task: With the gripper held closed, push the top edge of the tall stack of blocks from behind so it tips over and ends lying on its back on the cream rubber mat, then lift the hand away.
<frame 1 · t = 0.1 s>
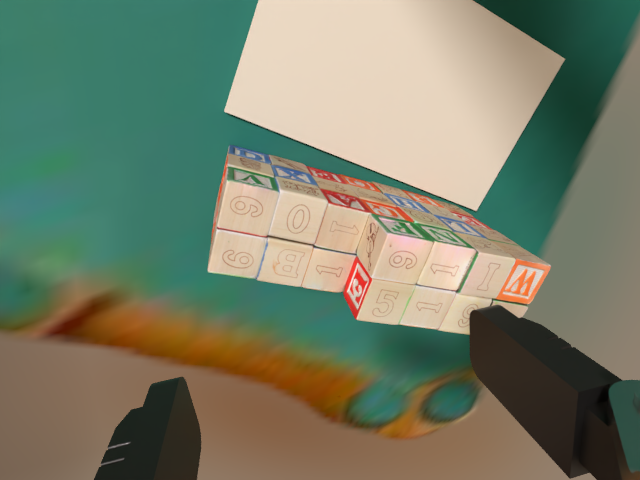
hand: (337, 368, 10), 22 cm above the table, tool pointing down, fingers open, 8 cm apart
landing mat: (402, 83, 30), on the table
stack of blocks: (342, 209, 34), on the table
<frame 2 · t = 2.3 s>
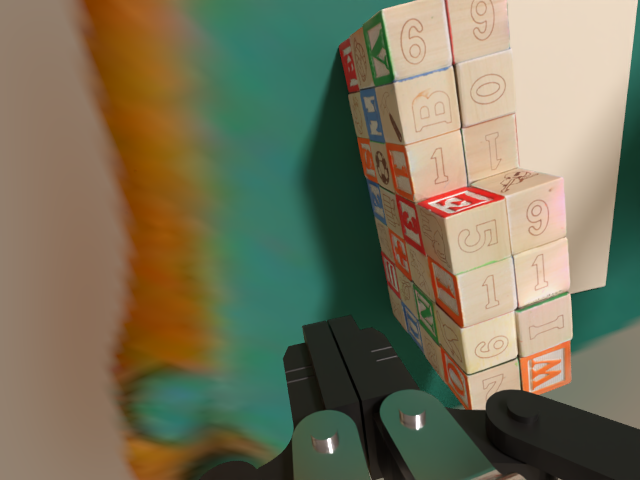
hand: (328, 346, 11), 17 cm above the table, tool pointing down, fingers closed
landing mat: (539, 167, 31), on the table
stack of blocks: (404, 185, 29), on the table
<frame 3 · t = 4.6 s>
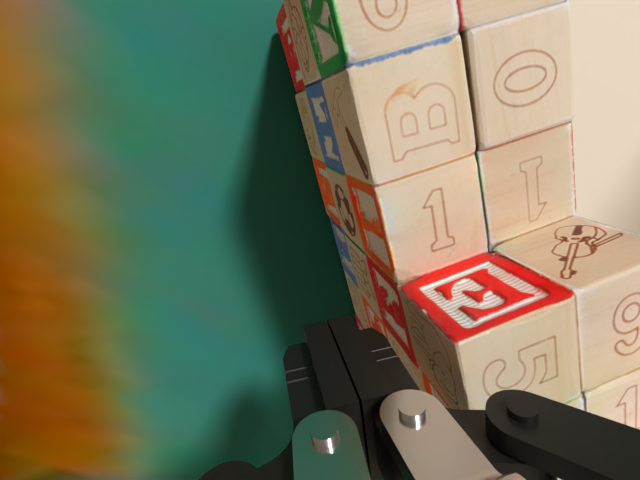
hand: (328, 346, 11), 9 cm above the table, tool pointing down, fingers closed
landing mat: (573, 198, 22), on the table
stack of blocks: (385, 222, 21), on the table, touching gripper
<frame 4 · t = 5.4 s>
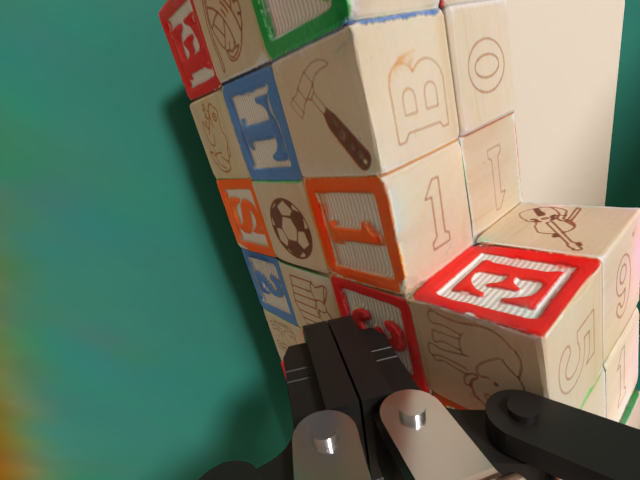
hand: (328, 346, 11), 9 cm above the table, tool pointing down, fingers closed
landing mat: (490, 216, 21), on the table
stack of blocks: (299, 249, 19), point 1 cm above the table, touching gripper, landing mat
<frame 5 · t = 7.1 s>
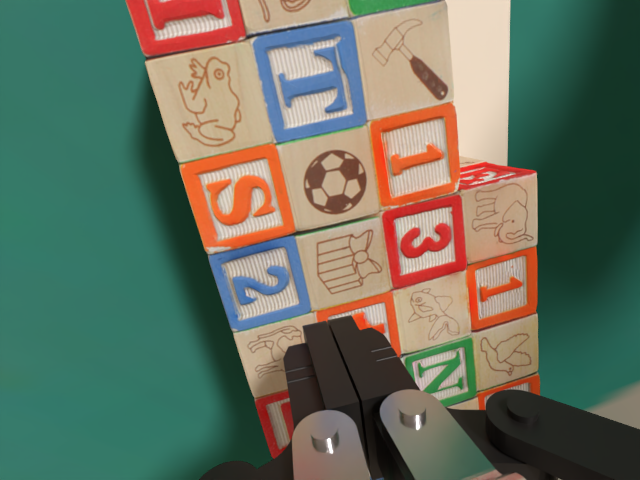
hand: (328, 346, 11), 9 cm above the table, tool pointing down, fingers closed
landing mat: (384, 233, 21), on the table
stack of blocks: (217, 267, 16), point 4 cm above the table, touching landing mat
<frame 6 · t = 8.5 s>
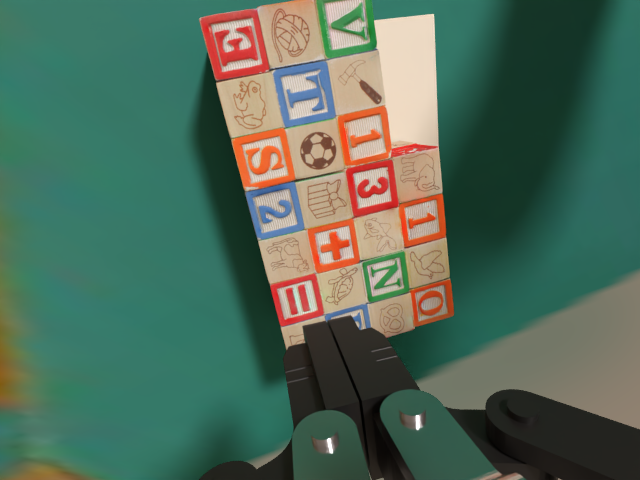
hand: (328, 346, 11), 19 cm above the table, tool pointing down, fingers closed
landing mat: (355, 195, 30), on the table
stack of blocks: (245, 208, 25), point 4 cm above the table, touching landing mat
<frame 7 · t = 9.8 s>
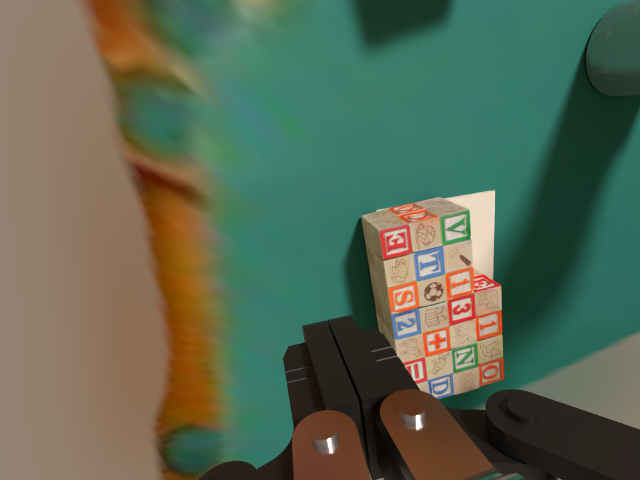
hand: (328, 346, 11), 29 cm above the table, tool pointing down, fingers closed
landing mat: (438, 296, 46), on the table
stack of blocks: (380, 314, 41), point 4 cm above the table, touching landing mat
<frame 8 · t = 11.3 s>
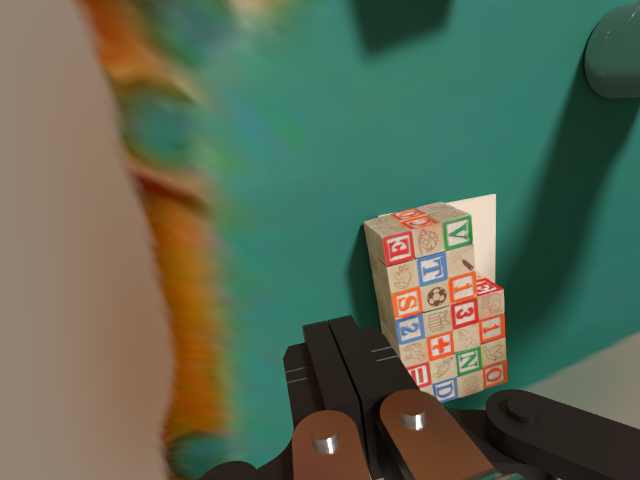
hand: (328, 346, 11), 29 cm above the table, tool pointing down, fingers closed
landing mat: (440, 299, 47), on the table
stack of blocks: (384, 319, 42), point 4 cm above the table, touching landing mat
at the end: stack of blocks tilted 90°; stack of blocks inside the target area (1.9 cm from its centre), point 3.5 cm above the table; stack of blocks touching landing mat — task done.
